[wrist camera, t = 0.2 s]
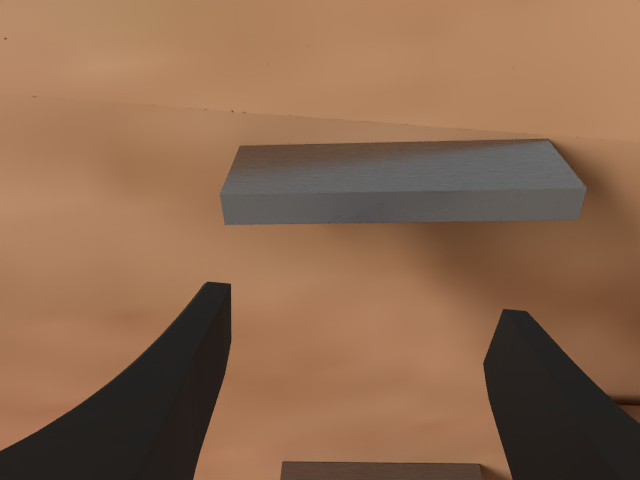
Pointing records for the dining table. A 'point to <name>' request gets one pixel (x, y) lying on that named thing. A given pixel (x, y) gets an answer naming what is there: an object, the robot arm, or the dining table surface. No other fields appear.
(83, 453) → the robot arm
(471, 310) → the dining table surface
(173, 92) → the dining table surface
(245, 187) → the pair of rectangular slabs
